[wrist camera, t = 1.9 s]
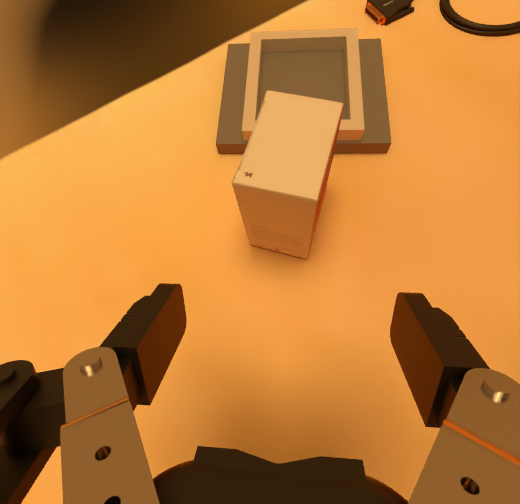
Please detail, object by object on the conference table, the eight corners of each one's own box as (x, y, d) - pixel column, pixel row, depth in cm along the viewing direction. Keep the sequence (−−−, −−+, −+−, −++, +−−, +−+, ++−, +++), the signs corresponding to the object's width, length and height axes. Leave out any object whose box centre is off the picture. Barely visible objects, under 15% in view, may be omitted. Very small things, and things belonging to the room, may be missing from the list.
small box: (307, 261, 28) (318, 204, 18) (248, 245, 29) (229, 184, 19) (327, 185, 31) (347, 100, 21) (272, 174, 32) (266, 86, 22)
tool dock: (376, 51, 36) (384, 24, 33) (386, 153, 31) (396, 132, 29) (230, 56, 38) (226, 31, 35) (218, 153, 33) (212, 133, 30)
